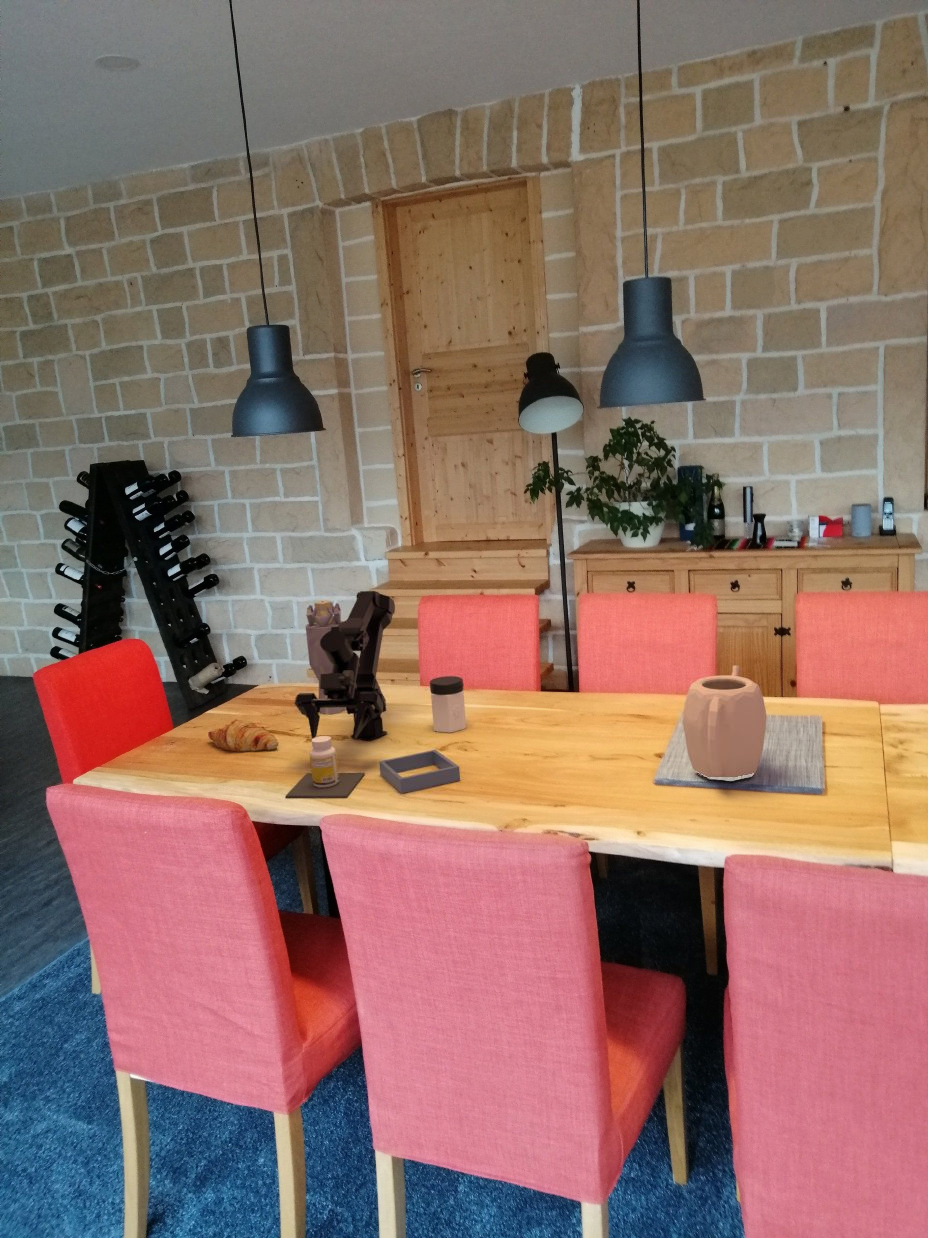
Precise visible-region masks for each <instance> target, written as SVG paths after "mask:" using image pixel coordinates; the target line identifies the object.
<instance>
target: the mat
mask: <svg viewBox="0 0 928 1238" xmlns="http://www.w3.org/2000/svg"><path fill="white" fill-rule="evenodd" d="M338 774H339V782H338V783H337V784H336V785H334V786H331V787H325V788H320V787H316V786H314V784H313V777H312V772H306V773H305V775H304V776H302V778H301V779H300V780H299V781H298V782H297V783H296V784H295V785H294V786H293V787H292V788H291V789H290V790H289V791H288V792H287V793H286V794H285V799H348V797H349V796H350V795H351V794H352V793H353V791H354V790H355V788H356V787H357V786H358V785H359V784H360V782H362V781H361V780H362V779H363V778H364V777H365V776H366V774H365V772H338Z"/></svg>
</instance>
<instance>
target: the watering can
mask: <svg viewBox="0 0 928 1238" xmlns="http://www.w3.org/2000/svg"><path fill="white" fill-rule="evenodd" d="M740 667H741V666H740V665H732V672H731V674H729V675H725V674H724V675H711V676H705V677H700V678H699V679H697V680H695V681H694V682H692V683H691V684H690V686H689V688H688V690H687V694H686V698H685V700H684V707H683V715H682V726H683V733H684V738H685V744H686V749H687V750H686V751H687V754H688V757H689V761H690V764H691V767H692V770H693V769H694V770H695V771H697V772H699V773H700V774H703V775H705V776H707V777H738V776H743V775H748V774H752V773H755V774H756V772H757V770H758V768H757V767H759V764H760V761H761V757H762V754H763V751H764V750H763V749H764V743H765V736H766V735H765V734H766V729H767V711H766V705H765V704H766V703H765V700H764V697H763V694H762V691H761V688H760V686H759V684H757V682H754V681H753V680H751V679H749V678H747V677H742V676H739V672H740V671H739V670H740ZM694 770H693V771H694Z"/></svg>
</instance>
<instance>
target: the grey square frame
mask: <svg viewBox="0 0 928 1238" xmlns="http://www.w3.org/2000/svg"><path fill="white" fill-rule="evenodd" d="M378 763H379V775H380V776H381V777H382V778H383V779H385V781H386V782H387V783H388V784H390V785H391V786H392V787H393V788H394V789H395V790H396V791H397V792H399V793H400V794H401V795H402V794H407V793H410V792H411V793H412V792H415V791H419V790H424V789H429V788H433V787H438V786H442V785H446V784H451V783H455V782H459V781H461V771H460V770H461V769H460V766H459V765H457V764H456V763H455V762H454V761H452V760H451V759H450V758H448V757H447V756H445V755H444V754H442V753H441V752H440V751H438V750H437V749H432V750H426V751H421V752H417V753H411V754H408V755H403V756H399V757H394V758H390V759H389V758H388V759H384V760H379V761H378ZM433 765H435V766H436V767H437V768H438V769H436V770H431V771H427V772H421V773H417V774H413V775H408V776H404V777H402V776H401V775H400V774H399V773H401V772H402V773H403V772H406V771H410V770H414V769H419V768H420V769H421V768H424V767H429V766H433ZM437 785H438V786H437Z"/></svg>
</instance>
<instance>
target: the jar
mask: <svg viewBox="0 0 928 1238" xmlns="http://www.w3.org/2000/svg"><path fill="white" fill-rule="evenodd" d="M429 691H430V695H431V696H430V698H431V708H432V709H431V710H432V712H431V713H432V722H433V724H432V725H433V732H435V731H437V733H449V734H450V733H451V734H452V733H455V732H459V731H463V730H466V729H467V721H466V708H465V707H466V706H465V696H464V694H465V693H464V680H463V678H462V677H460V676H454V675H449V676H446V675H445V676H439V677H435V678H432V679H431V680H429Z"/></svg>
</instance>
